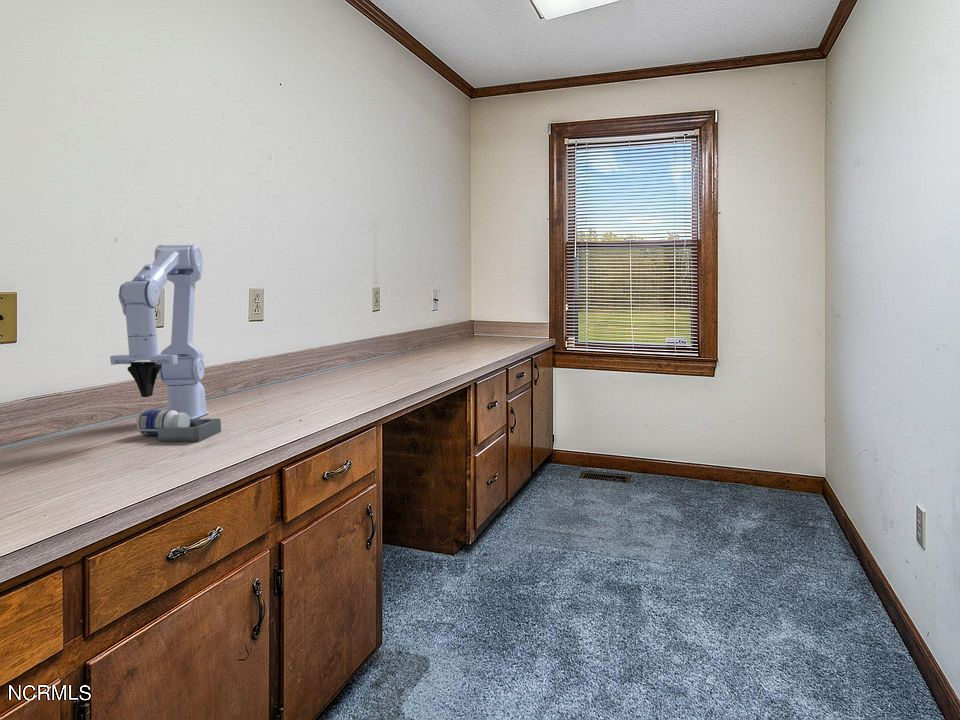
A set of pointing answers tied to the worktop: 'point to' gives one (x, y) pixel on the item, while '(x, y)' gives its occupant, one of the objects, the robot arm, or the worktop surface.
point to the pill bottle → (160, 420)
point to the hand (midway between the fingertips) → (147, 396)
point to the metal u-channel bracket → (191, 431)
